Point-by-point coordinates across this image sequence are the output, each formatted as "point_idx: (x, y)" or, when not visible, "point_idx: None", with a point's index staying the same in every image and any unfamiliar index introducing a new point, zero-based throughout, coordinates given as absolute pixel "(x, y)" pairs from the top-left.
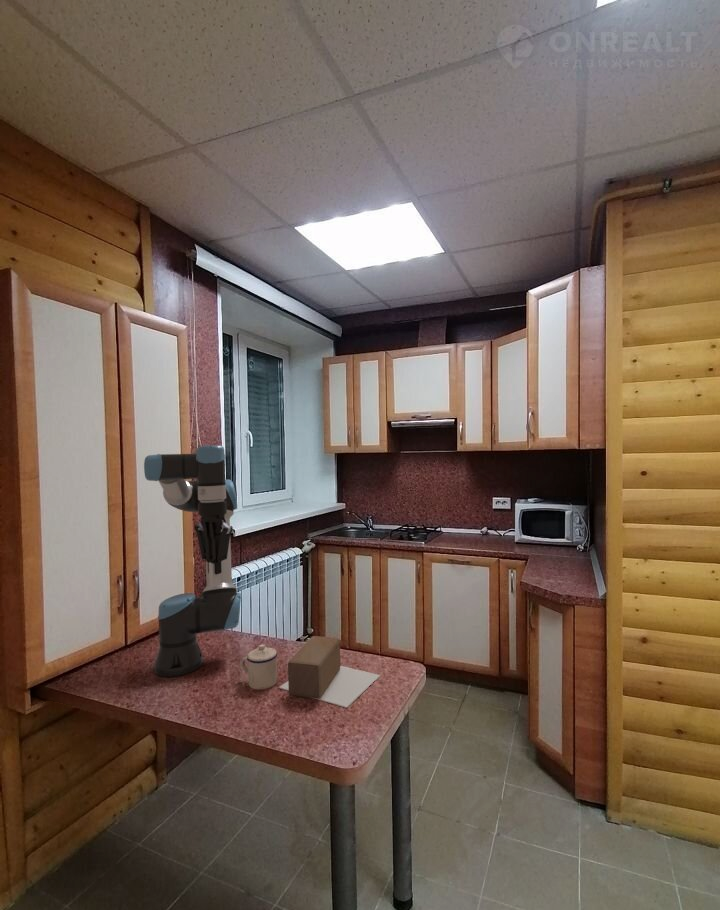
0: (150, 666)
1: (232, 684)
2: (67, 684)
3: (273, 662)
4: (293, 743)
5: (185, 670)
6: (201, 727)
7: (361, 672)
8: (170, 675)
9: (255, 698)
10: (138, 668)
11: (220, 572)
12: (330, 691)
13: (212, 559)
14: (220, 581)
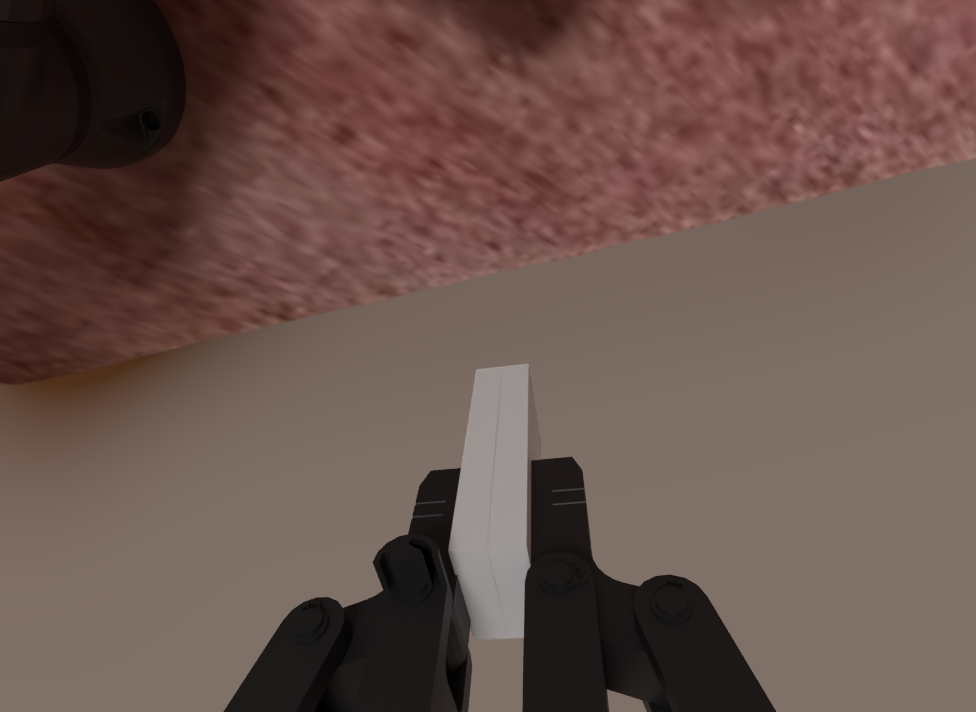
0: None
1: (410, 5)
2: (12, 362)
3: None
4: (907, 131)
5: (177, 89)
6: (570, 251)
7: None
8: (166, 140)
9: (585, 18)
10: None
11: (578, 473)
12: None
13: (462, 628)
14: (528, 380)
